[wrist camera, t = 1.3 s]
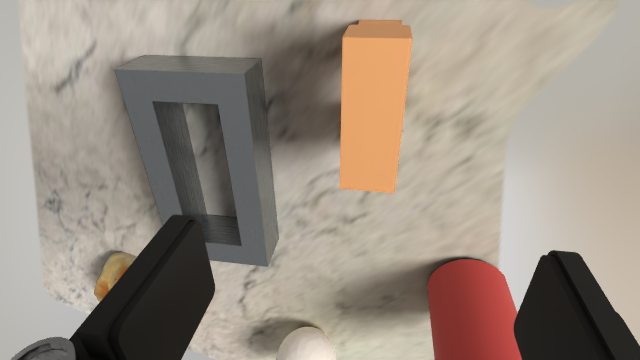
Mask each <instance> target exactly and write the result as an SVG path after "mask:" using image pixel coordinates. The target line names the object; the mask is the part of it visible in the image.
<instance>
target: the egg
mask: <svg viewBox="0 0 640 360" xmlns="http://www.w3.org/2000/svg"><path fill="white" fill-rule="evenodd" d="M276 360H336V353H335V349H334V346H333V344H332V342H331V340H330V339H329V338H328V336H327V335H326V334H325V333H324V332H322V331H321V330H319V329H317V328H314V327H302V328H298V329H296V330H294V331H293V332H291V333H290V334H289V335H287V337H286V338H285V339H284V340H283V342H282V343H281V345H280V347H279V350H278V353H277V357H276Z"/></svg>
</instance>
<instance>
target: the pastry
mask: <svg viewBox="0 0 640 360" xmlns="http://www.w3.org/2000/svg"><path fill="white" fill-rule="evenodd" d="M136 258H137V257H136V256H133V255H131V254H128V253H125V252H118V253H113V254H111V256H110V257H109V259H108V260H107V261H106V263H105V265H104V267H103V270H102V273H101V275H100V277H99V278H98V280H97V282H96V286H95V290H94V295H95V296H96V297H97V299H98V301H101V300H102V299H103V298H104V297H105V295H106V294H107V293H108V292H109V291H110V289H111V288H112V287H113V286H114V285H115V283H116V282H117V281H118V280H119V278H120V277H121V276H122V275H123V274H124V272H125V271H126V270H127V269H128V268H129V266H130V265H131V264H132V263H133V261H134V260H135V259H136Z"/></svg>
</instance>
